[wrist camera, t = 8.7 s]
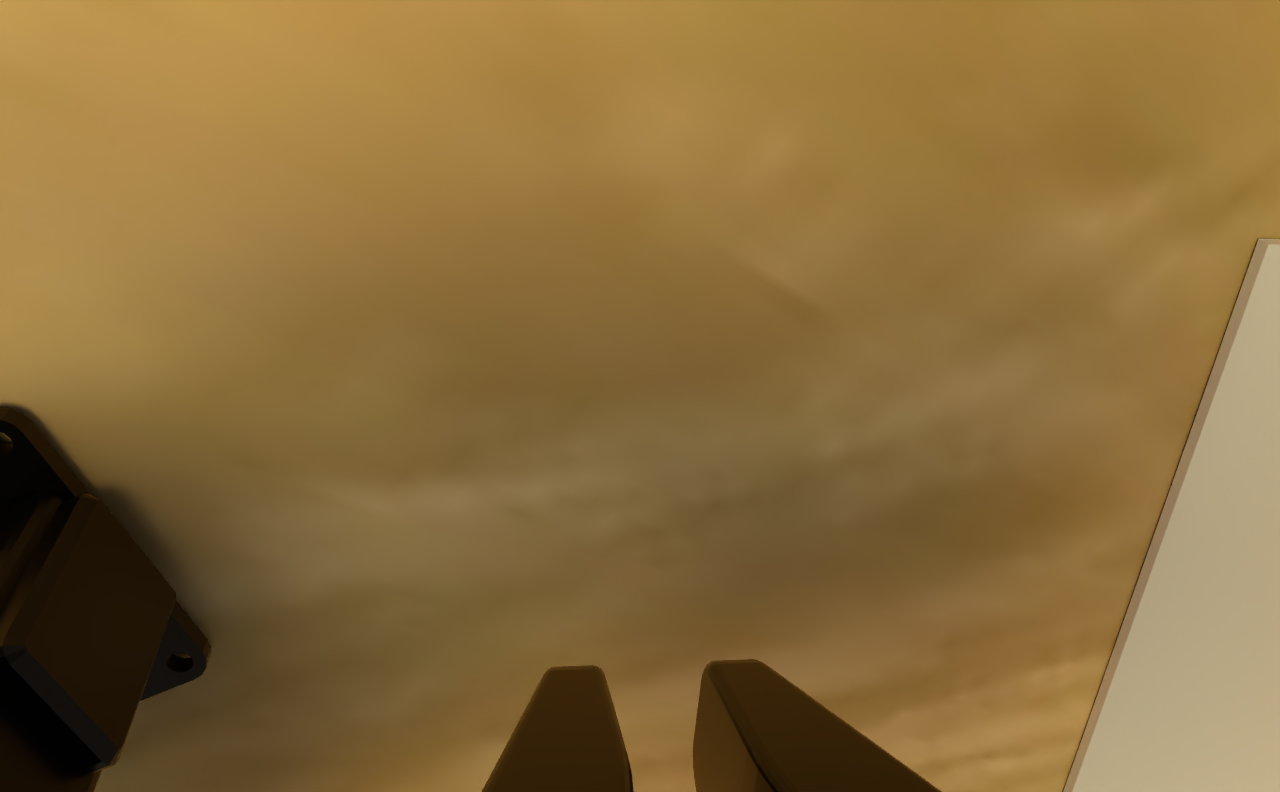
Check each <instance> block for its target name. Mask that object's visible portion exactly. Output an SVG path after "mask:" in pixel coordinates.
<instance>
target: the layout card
mask: <svg viewBox="0 0 1280 792" xmlns="http://www.w3.org/2000/svg"><path fill="white" fill-rule="evenodd" d="M1063 792H1280V239H1258V242H1257V245H1256V248H1255V250H1254V253H1253V256H1252V259H1251V262H1250V265H1249V267H1248V270H1247V273H1246V276H1245V279H1244V282H1243V284H1242V287H1241V290H1240V293H1239V296H1238V299H1237V301H1236V304H1235V307H1234V310H1233V313H1232V316H1231V318H1230V321H1229V324H1228V327H1227V330H1226V332H1225V335H1224V338H1223V341H1222V344H1221V347H1220V349H1219V352H1218V355H1217V358H1216V361H1215V364H1214V366H1213V369H1212V372H1211V375H1210V378H1209V381H1208V383H1207V386H1206V389H1205V392H1204V395H1203V398H1202V400H1201V403H1200V406H1199V409H1198V412H1197V415H1196V417H1195V420H1194V423H1193V426H1192V429H1191V432H1190V434H1189V437H1188V440H1187V443H1186V446H1185V449H1184V451H1183V454H1182V457H1181V460H1180V463H1179V466H1178V468H1177V471H1176V474H1175V477H1174V480H1173V483H1172V485H1171V488H1170V491H1169V494H1168V497H1167V500H1166V502H1165V505H1164V508H1163V511H1162V514H1161V516H1160V519H1159V522H1158V525H1157V528H1156V531H1155V533H1154V536H1153V539H1152V542H1151V545H1150V548H1149V550H1148V553H1147V556H1146V559H1145V562H1144V565H1143V567H1142V570H1141V573H1140V576H1139V579H1138V582H1137V584H1136V587H1135V590H1134V593H1133V596H1132V599H1131V601H1130V604H1129V607H1128V610H1127V613H1126V616H1125V618H1124V621H1123V624H1122V627H1121V630H1120V633H1119V635H1118V638H1117V641H1116V644H1115V647H1114V650H1113V652H1112V655H1111V658H1110V661H1109V664H1108V667H1107V669H1106V672H1105V675H1104V678H1103V681H1102V684H1101V686H1100V689H1099V692H1098V695H1097V698H1096V701H1095V703H1094V706H1093V709H1092V712H1091V715H1090V717H1089V720H1088V723H1087V726H1086V729H1085V732H1084V734H1083V737H1082V740H1081V743H1080V746H1079V749H1078V751H1077V754H1076V757H1075V760H1074V763H1073V766H1072V768H1071V771H1070V774H1069V777H1068V780H1067V783H1066V785H1065V788H1064V791H1063Z"/></svg>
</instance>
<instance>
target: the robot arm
mask: <svg viewBox="0 0 1280 792" xmlns="http://www.w3.org/2000/svg"><path fill="white" fill-rule="evenodd" d="M0 432H2V433H4V434H6V435H7V436H8V437H10V438H11V440H12V443H13V444H8V445H7V444H3V443H0V792H94V790H95V787H96V785H97V782H98V779H99V776H100V774H101V771H102V770H103V769H105V768H108V767H110V766H113V765H115V764H116V762H117V761H118V760H119V757H120V755H121V752H122V749H123V746H124V743H125V741H126V738H127V735H128V732H129V729H130V727H131V724H132V721H133V718H134V715H135V713H136V710H137V707H138V704H139V701H141V700H144V699H146V698H149V697H151V696H154V695H156V694H159V693H161V692H164V691H166V690H169V689H171V688H174V687H176V686H179V685H181V684H184V683H186V682H189V681H191V680H194V679H196V678H197V677H199V676H200V675H202V674H203V672H204V670H205V669H206V667H207V663H208V660H209V657H210V650H211V646H210V644H209V642H208V640H207V638H206V637H205V636H204V635H203V633H202V632H201V631H200V630H199V628H198V627H197V626H196V625H195V623H194V622H193V621H192V620H191V619H190V617H189V616H188V615H187V614H186V612H185V611H184V610H183V609H182V607H181V606H180V605H179V604H178V602H177V601H176V600H175V599H176V593H175V591H174V590H173V589H172V587H171V586H170V585H169V584H168V582H167V581H166V580H165V579H164V577H163V576H162V575H161V574H160V572H159V571H158V570H157V569H156V567H155V566H154V565H153V564H152V562H151V561H150V560H149V559H148V557H147V556H146V555H145V554H144V553H143V551H142V550H141V549H140V548H139V546H138V545H137V544H136V543H135V541H134V540H133V539H132V538H131V536H130V535H129V534H128V533H127V531H126V530H125V529H124V528H123V526H122V525H121V524H120V523H119V521H118V520H117V519H116V518H115V516H114V515H113V514H112V513H111V511H110V510H109V509H108V508H107V506H106V505H105V504H104V503H103V502H102V501H101V500H100V499H98V498H96V497H94V496H92V495H90V493H89V492H88V491H87V490H86V488H85V487H84V486H83V485H82V483H81V482H80V481H79V480H78V478H77V477H76V476H75V475H74V473H73V472H72V471H71V470H70V469H69V467H68V466H67V465H66V464H65V462H64V461H63V460H62V459H61V457H60V456H59V455H58V454H57V452H56V451H55V450H54V449H53V447H52V446H51V445H50V444H49V442H48V441H47V440H46V439H45V438H44V436H43V435H42V434H41V433H40V431H39V430H38V429H37V428H36V426H35V425H34V424H33V423H32V421H31V420H29V419H28V418H27V417H26V416H25V415H24V414H23V413H21V412H19V411H16V410H14V409H12V408H7V407H0ZM176 652H181V653H186V654H188V655H189V656H190V658H181V657H177V656H176V655H175V654H173V653H176ZM693 768H694V778H695V785H696V791H697V792H941V791H940V790H939V789H937V788H936V787H934V786H933V785H932V784H930V783H929V782H928V781H926V780H925V779H923V778H922V777H921V776H919V775H918V774H917V773H915V772H914V771H912V770H911V769H910V768H908V767H907V766H905V765H904V764H903V763H901V762H900V761H899V760H897V759H896V758H894V757H893V756H892V755H890V754H889V753H887V752H886V751H885V750H883V749H882V748H881V747H879V746H878V745H876V744H875V743H874V742H872V741H871V740H870V739H868V738H867V737H865V736H864V735H863V734H861V733H860V732H858V731H857V730H856V729H854V728H853V727H852V726H850V725H849V724H847V723H846V722H845V721H843V720H842V719H841V718H839V717H838V716H836V715H835V714H834V713H832V712H831V711H829V710H828V709H827V708H825V707H824V706H823V705H821V704H820V703H818V702H817V701H816V700H814V699H813V698H812V697H810V696H809V695H807V694H806V693H805V692H803V691H802V690H800V689H799V688H798V687H796V686H795V685H794V684H792V683H791V682H789V681H788V680H787V679H785V678H784V677H782V676H781V675H780V674H778V673H777V672H776V671H774V670H773V669H771V668H770V667H769V666H767V665H766V664H764V663H762V662H760V661H758V660H754V659H748V660H722V661H712V662H710V663H709V664H707V666H706V667H705V669H704V671H703V674H702V679H701V687H700V695H699V703H698V710H697V718H696V726H695V734H694V742H693ZM482 792H633V781H632V772H631V768H630V764H629V759H628V755H627V752H626V748H625V744H624V741H623V737H622V734H621V730H620V727H619V723H618V720H617V716H616V713H615V709H614V706H613V702H612V698H611V695H610V691H609V688H608V684H607V681H606V677H605V674H604V672H603V671H602V669H601V668H599V667H597V666H594V665H590V666H563V667H552V668H550V669H548V670H547V671H546V672H545V674H544V675H543V677H542V678H541V680H540V682H539V684H538V686H537V688H536V690H535V692H534V694H533V695H532V697H531V699H530V701H529V703H528V705H527V707H526V709H525V711H524V713H523V714H522V716H521V718H520V720H519V722H518V724H517V726H516V728H515V730H514V732H513V733H512V735H511V737H510V739H509V741H508V743H507V745H506V747H505V749H504V750H503V752H502V754H501V756H500V758H499V760H498V762H497V764H496V766H495V768H494V769H493V771H492V773H491V775H490V777H489V779H488V781H487V783H486V785H485V787H484V788H483V790H482Z"/></svg>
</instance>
